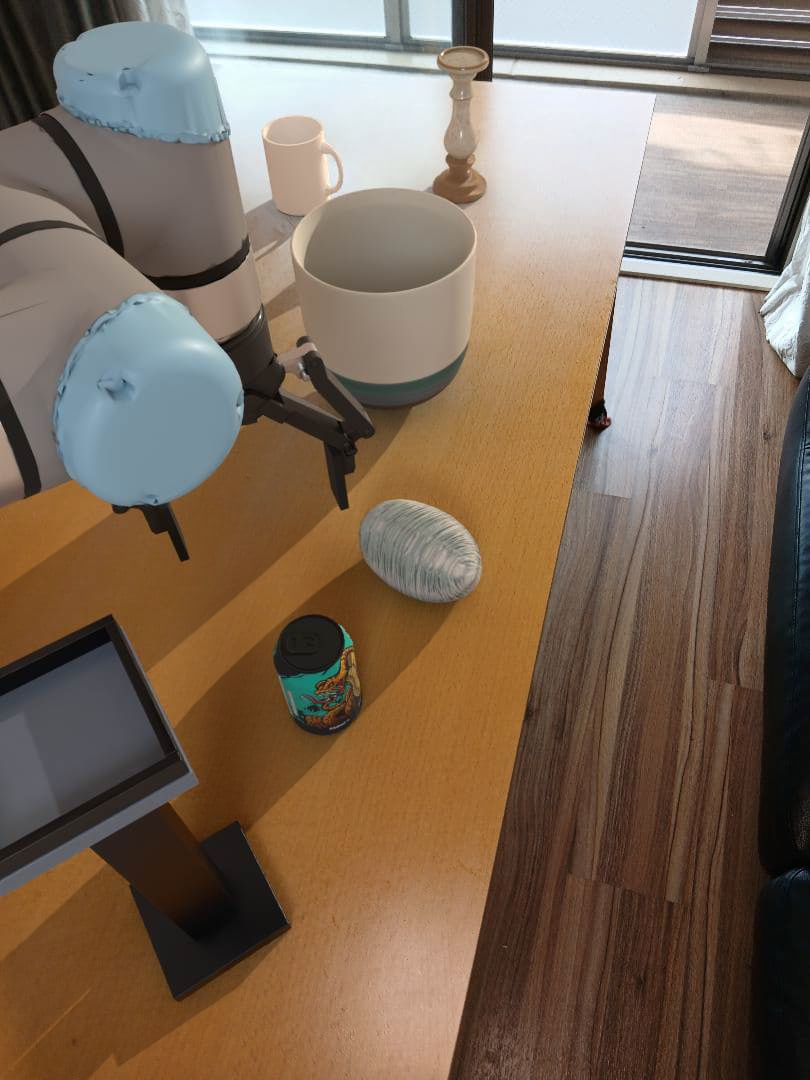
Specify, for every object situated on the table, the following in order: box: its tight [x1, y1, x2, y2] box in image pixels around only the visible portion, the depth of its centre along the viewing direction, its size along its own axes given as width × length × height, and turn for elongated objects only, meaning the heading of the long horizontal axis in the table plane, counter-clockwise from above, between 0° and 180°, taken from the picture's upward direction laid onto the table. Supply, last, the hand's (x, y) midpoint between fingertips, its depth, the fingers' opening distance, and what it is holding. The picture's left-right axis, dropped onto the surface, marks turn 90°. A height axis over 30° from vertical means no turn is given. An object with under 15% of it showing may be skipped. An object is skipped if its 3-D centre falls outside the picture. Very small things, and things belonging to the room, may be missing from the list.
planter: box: [289, 187, 478, 412], centre depth 97 cm, size 20×20×21 cm
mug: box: [261, 114, 344, 217], centre depth 128 cm, size 10×12×12 cm
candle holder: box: [432, 45, 490, 204], centre depth 126 cm, size 9×9×20 cm
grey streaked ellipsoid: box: [358, 498, 483, 604], centre depth 85 cm, size 14×10×10 cm
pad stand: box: [0, 613, 292, 1003], centre depth 54 cm, size 10×10×36 cm
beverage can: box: [272, 613, 363, 736], centre depth 74 cm, size 7×7×12 cm
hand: (262, 523), depth 68 cm, fingers open, 13 cm apart
